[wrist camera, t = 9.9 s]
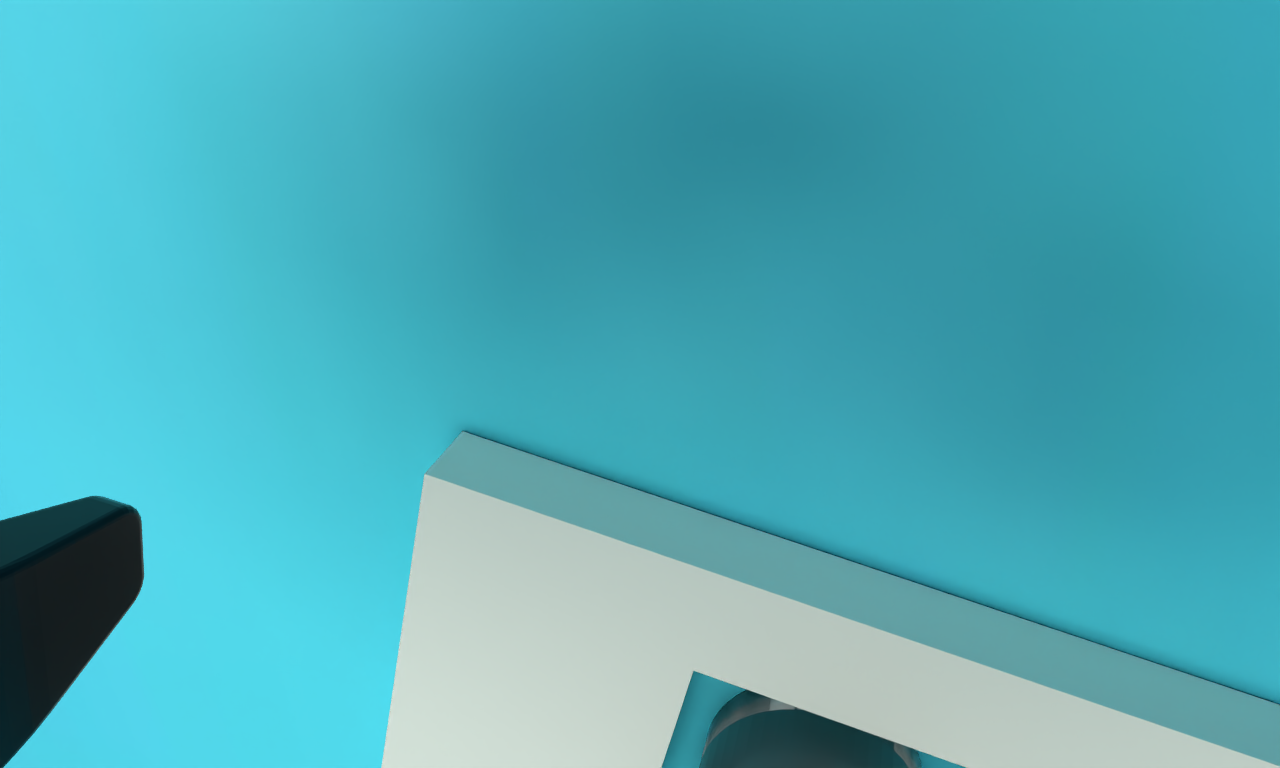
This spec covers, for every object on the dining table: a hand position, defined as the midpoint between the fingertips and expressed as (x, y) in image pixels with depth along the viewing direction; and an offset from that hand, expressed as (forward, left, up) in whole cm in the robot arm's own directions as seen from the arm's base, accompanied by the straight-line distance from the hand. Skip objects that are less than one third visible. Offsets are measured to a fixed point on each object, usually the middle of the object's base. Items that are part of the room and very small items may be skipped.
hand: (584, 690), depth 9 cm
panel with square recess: (-4, +12, -12) cm, 17 cm away
